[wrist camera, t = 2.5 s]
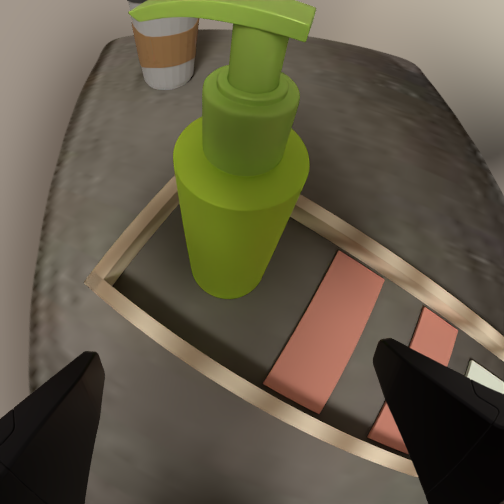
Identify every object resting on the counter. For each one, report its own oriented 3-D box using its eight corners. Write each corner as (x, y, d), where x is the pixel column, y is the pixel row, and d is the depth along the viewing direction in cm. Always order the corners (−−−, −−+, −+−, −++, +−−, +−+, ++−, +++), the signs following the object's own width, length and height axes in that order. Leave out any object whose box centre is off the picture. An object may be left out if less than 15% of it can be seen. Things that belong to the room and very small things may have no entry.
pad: (438, 444, 20) (440, 444, 19) (469, 360, 23) (472, 360, 23) (483, 461, 18) (485, 461, 18) (509, 388, 22) (511, 388, 22)
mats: (262, 383, 21) (263, 383, 21) (337, 251, 26) (338, 250, 26) (407, 453, 19) (409, 454, 19) (456, 331, 24) (458, 330, 24)
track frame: (92, 290, 22) (83, 282, 20) (206, 157, 28) (206, 143, 27) (476, 492, 17) (488, 494, 15) (521, 365, 23) (533, 362, 21)
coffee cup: (208, 88, 33) (213, -23, 19) (140, 102, 31) (125, -11, 17) (193, 57, 36) (195, -36, 22) (135, 69, 34) (124, -25, 20)
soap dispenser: (192, 219, 26) (181, -30, 7) (271, 241, 26) (364, 4, 7) (168, 282, 23) (82, 27, 5) (253, 308, 23) (375, 73, 5)
